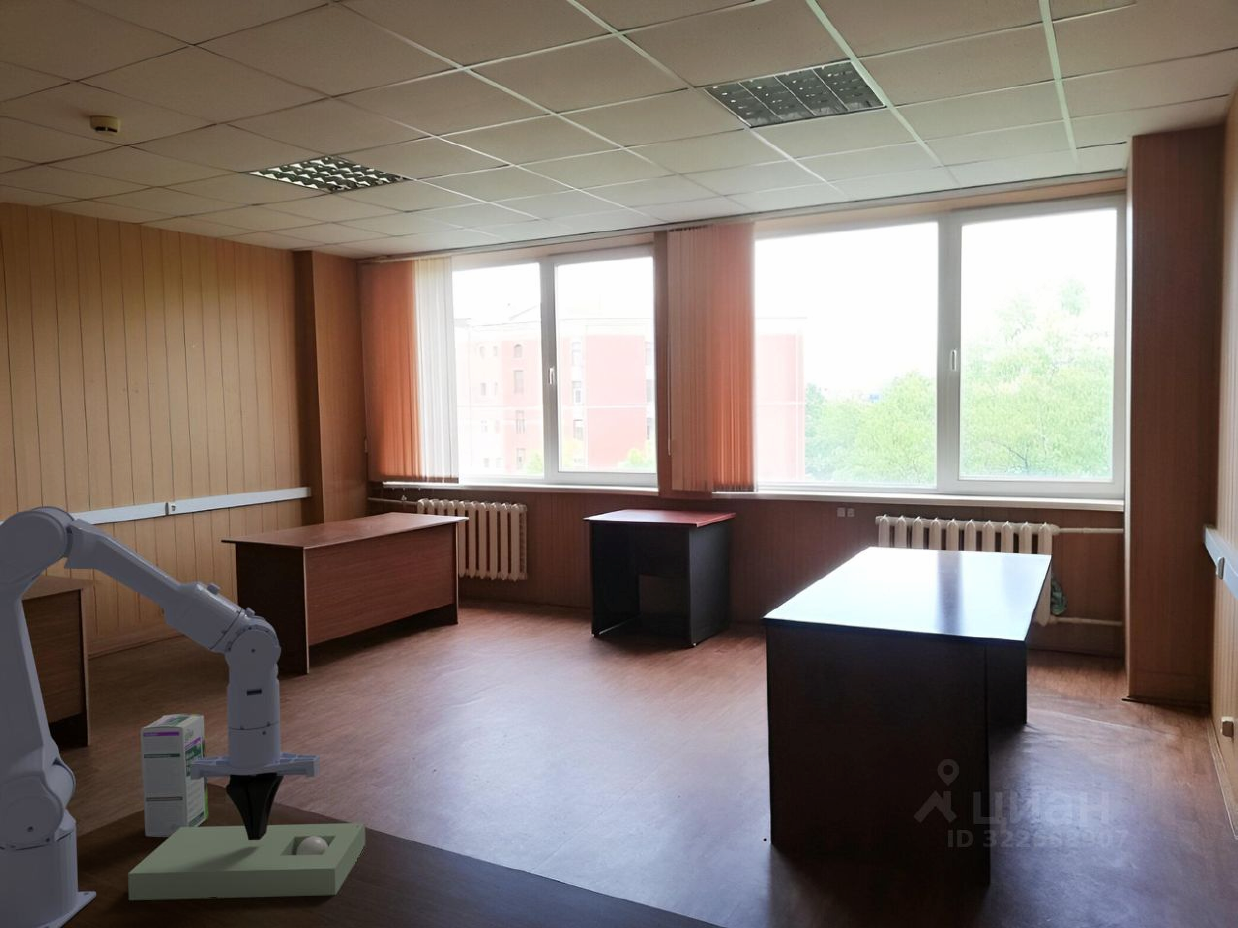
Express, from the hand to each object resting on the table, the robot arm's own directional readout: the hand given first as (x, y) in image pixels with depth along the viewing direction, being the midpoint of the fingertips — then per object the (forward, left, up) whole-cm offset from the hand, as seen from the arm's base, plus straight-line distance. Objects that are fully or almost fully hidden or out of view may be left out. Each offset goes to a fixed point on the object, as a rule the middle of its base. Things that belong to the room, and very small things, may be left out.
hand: (257, 836), depth 104 cm
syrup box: (-16, +13, -4) cm, 21 cm away
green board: (0, 0, -4) cm, 4 cm away
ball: (+6, 0, -2) cm, 7 cm away
